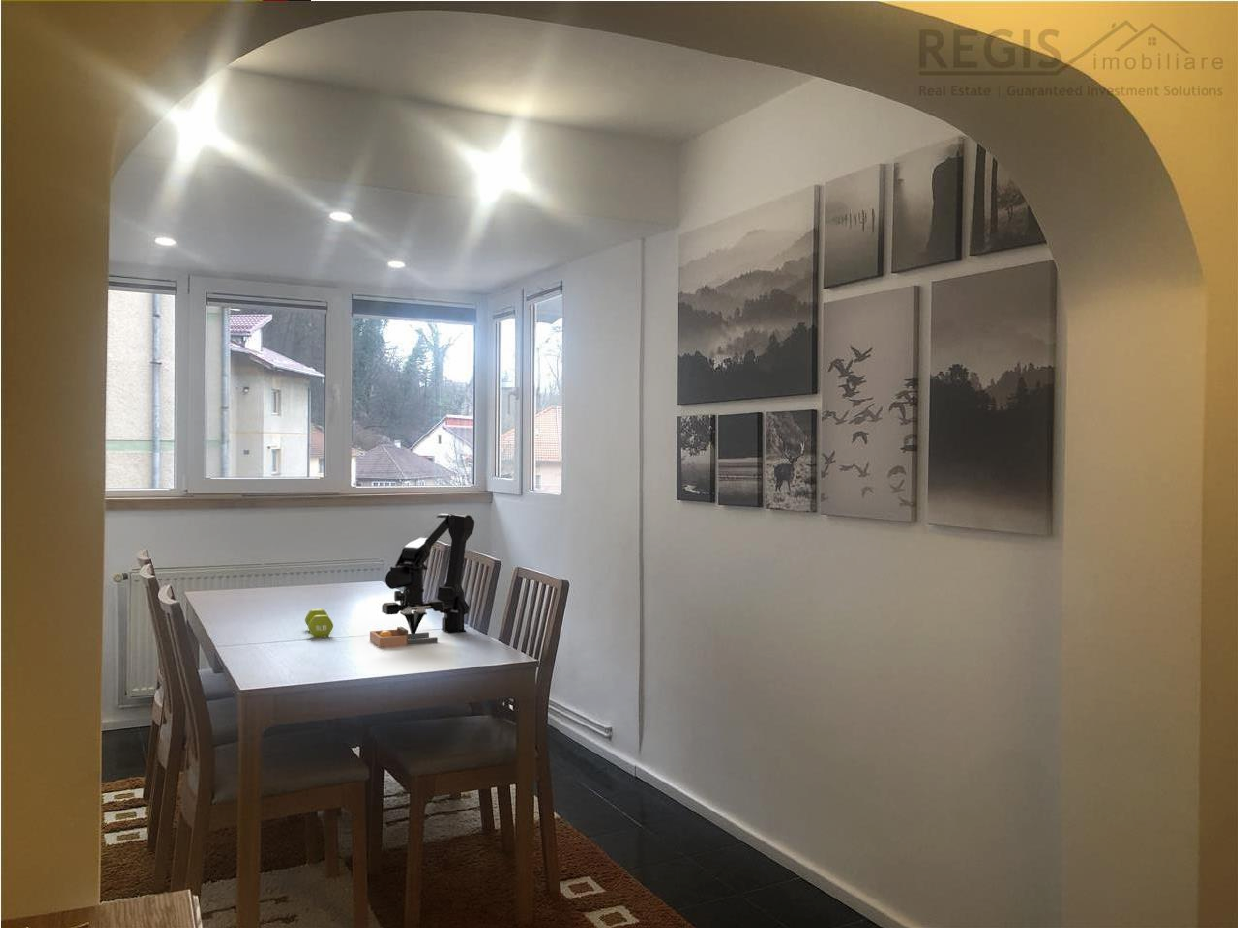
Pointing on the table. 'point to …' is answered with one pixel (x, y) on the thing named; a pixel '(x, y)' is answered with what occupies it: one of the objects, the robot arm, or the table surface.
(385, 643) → the pocket
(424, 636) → the track
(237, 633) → the table surface
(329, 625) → the dumbbell
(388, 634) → the ball
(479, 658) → the table surface
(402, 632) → the brown wooden block
